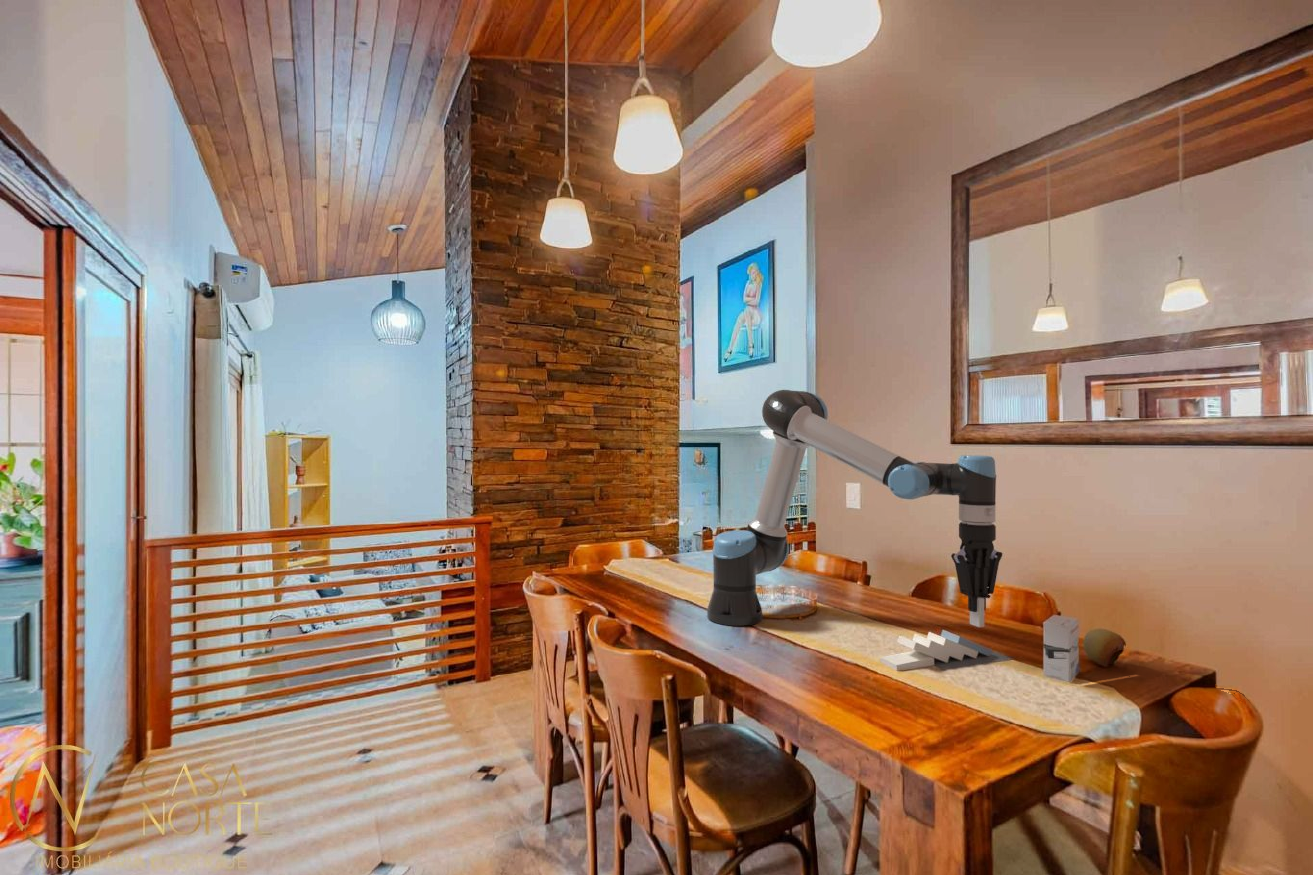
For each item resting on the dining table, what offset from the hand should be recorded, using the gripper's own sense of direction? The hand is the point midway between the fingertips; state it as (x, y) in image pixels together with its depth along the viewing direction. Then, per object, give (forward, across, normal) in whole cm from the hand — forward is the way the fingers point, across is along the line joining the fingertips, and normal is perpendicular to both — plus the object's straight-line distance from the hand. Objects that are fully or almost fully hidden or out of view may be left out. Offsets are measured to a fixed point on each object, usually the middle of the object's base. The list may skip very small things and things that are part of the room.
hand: (977, 625), depth 140 cm
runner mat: (+7, -5, 0) cm, 9 cm away
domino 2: (+6, -11, 0) cm, 12 cm away
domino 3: (+6, -7, 0) cm, 9 cm away
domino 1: (+6, -15, 0) cm, 16 cm away
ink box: (+7, +7, -15) cm, 18 cm away
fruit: (+7, +21, -14) cm, 26 cm away
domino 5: (+6, +1, 0) cm, 6 cm away
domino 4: (+6, -3, 0) cm, 6 cm away
